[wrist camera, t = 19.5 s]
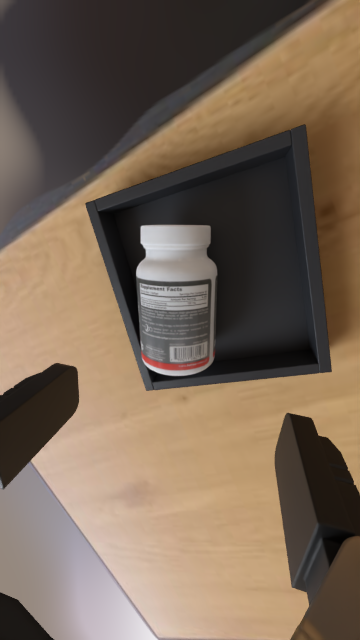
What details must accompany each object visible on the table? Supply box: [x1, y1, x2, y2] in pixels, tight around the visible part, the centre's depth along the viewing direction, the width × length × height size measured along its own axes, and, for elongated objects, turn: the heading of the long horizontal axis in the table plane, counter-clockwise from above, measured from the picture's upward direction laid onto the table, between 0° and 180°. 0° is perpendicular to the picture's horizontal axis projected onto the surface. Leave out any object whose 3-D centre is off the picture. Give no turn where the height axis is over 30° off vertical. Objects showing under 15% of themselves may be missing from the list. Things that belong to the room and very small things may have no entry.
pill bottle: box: [136, 225, 217, 376], centre depth 19 cm, size 6×6×10 cm
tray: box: [85, 124, 332, 391], centre depth 20 cm, size 15×16×3 cm
